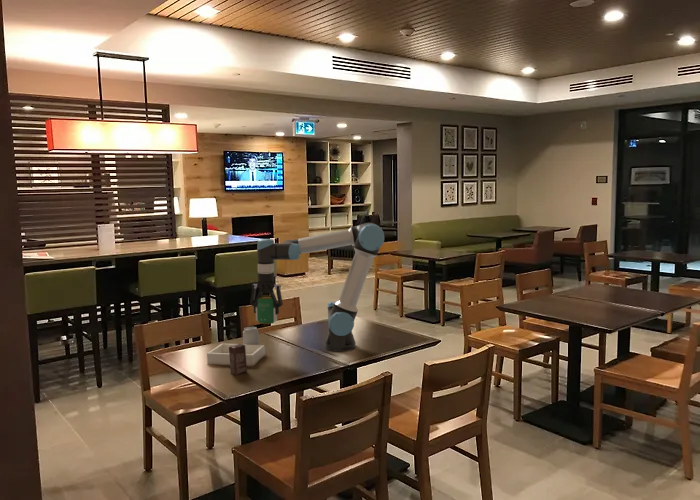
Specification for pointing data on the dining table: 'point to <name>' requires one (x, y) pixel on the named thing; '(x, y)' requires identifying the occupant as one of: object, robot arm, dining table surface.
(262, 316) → the beverage can
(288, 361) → the dining table surface
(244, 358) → the box
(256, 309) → the robot arm
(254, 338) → the can
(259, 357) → the bus tub
